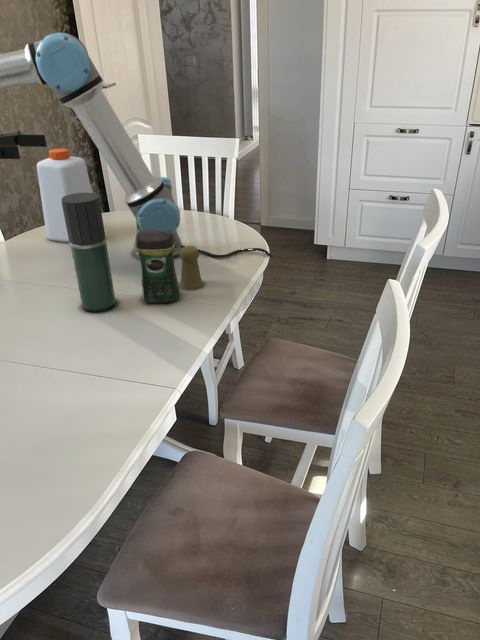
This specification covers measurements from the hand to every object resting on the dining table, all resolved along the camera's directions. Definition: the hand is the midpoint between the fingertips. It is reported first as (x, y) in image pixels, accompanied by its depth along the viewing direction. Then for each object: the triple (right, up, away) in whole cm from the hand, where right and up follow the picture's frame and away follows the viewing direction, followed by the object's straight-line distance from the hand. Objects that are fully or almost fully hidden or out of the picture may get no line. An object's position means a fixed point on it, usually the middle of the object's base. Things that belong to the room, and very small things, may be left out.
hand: (32, 146), depth 128 cm
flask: (+12, -36, +14) cm, 40 cm away
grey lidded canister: (+12, -21, +4) cm, 24 cm away
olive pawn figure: (+34, -30, +24) cm, 51 cm away
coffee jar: (+27, -34, +17) cm, 47 cm away
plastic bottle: (-10, -9, +59) cm, 60 cm away
